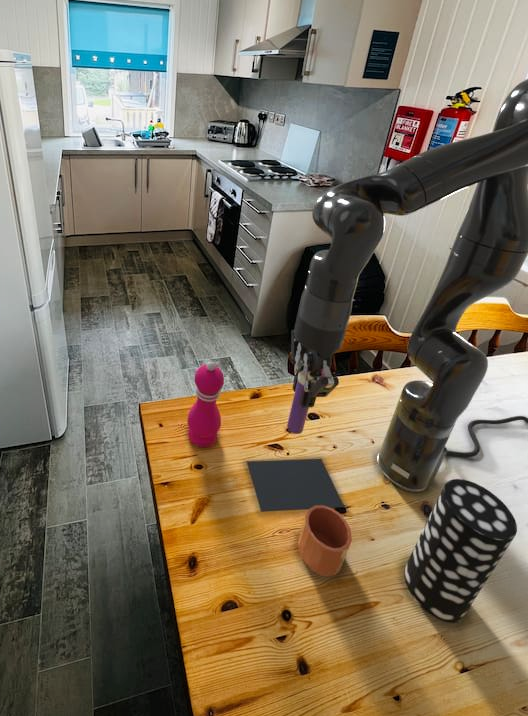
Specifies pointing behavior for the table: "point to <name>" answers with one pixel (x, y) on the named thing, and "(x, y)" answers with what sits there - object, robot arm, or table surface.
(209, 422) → the pepper mill
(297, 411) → the glue stick
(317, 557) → the cup
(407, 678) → the table surface
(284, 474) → the mat
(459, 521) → the white-spotted black cylinder
